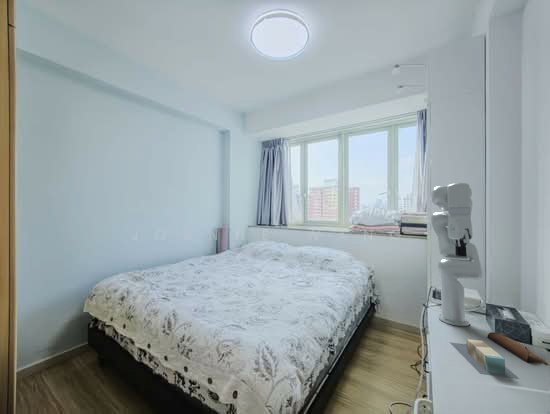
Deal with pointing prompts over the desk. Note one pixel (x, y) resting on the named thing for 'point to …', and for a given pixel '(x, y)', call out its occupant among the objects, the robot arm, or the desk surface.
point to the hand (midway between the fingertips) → (461, 255)
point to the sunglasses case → (516, 348)
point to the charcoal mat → (463, 351)
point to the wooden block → (486, 356)
